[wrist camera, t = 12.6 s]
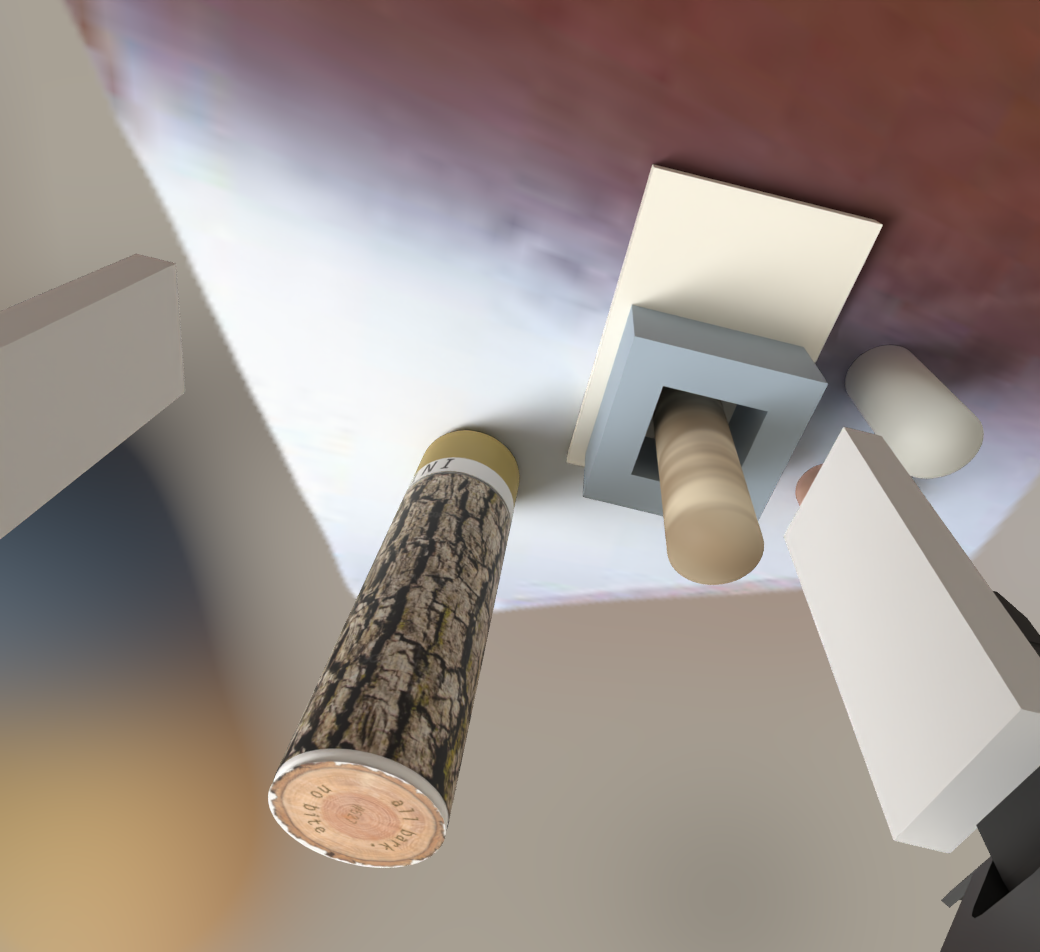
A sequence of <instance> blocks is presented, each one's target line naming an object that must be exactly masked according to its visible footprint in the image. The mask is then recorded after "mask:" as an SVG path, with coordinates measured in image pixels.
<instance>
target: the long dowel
mask: <svg viewBox="0 0 1040 952" xmlns="http://www.w3.org/2000/svg"><path fill="white" fill-rule="evenodd" d="M653 422H654V432H655V441H656V451H657V460H658V470H659V479H660V489H661V498H662V508H663V517H664V527H665V536H666V545H667V554H668V558H669V561H670V563H671V565H672V567H673V568H674V569H675V570H676V571H677V572H678V573H679V574H680V575H682V576H683V577H685V578H686V579H688V580H691V581H693V582H696V583H700V584H707V585H718V584H725V583H730V582H733V581H736V580H738V579H740V578H742V577H744V576H745V575H747V574H748V573H750V572H751V571H752V570H753V569H754V568H755V567H756V566H757V564H758V563H759V561H760V560H761V557H762V555H763V551H764V541H763V537H762V533H761V530H760V527H759V524H758V520H757V517H756V514H755V510H754V507H753V504H752V501H751V497H750V494H749V491H748V487H747V484H746V481H745V478H744V474H743V471H742V468H741V464H740V461H739V458H738V455H737V451H736V448H735V445H734V441H733V438H732V435H731V432H730V428H729V425H728V422H727V418H726V415H725V412H724V409H723V405H722V402H721V400H719V399H715V398H710V397H706V396H702V395H698V394H694V393H690V392H686V391H682V390H678V389H674V388H670V387H666V386H663V388H662V391H661V393H660V396H659V399H658V402H657V404H656V407H655V410H654V413H653Z"/></svg>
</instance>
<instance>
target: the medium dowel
mask: <svg viewBox="0 0 1040 952" xmlns="http://www.w3.org/2000/svg"><path fill="white" fill-rule="evenodd" d="M845 388H846V391H847V394H848V396H849V397H850V399H851V400H852V401H853V403H854V404H855V406H856V407H857V409H858V410H859V411H860V413H861V414H862V416H863V417H864V419H865V420H866V421H867V423H868V424H869V426H870V427H871V429H872V430H873V431H874V433H875V434H876V435H880V436H882V437H883V439H884V440H885V441H886V443H887V444H888V446H889V447H890V448H891V450H892V451H893V453H894V454H895V455H896V457H897V458H898V460H899V461H900V462H901V464H902V465H903V467H904V468H905V469H906V471H907V472H908V474H909V475H911V476H914V477H918V478H926V479H927V478H938V477H942V476H946V475H949V474H951V473H953V472H956V471H957V470H959V469H961V468H962V467H964V466H965V465H966V464H968V463H969V462H970V461H971V460H972V459H973V458H974V457H975V455H976V454H977V452H978V451H979V449H980V447H981V445H982V441H983V435H984V434H983V427H982V424H981V422H980V421H979V419H978V418H977V417H976V416H975V415H974V414H973V413H972V412H971V411H970V410H969V409H968V408H967V407H966V406H965V405H964V404H963V403H962V402H961V401H960V400H959V399H958V398H957V397H956V396H955V395H954V394H953V393H952V392H951V391H950V390H949V389H948V388H947V387H946V386H945V385H944V384H943V383H942V382H941V381H940V380H939V379H938V378H937V377H936V376H935V375H934V374H933V373H932V372H931V371H930V370H929V369H927V368H926V367H925V366H924V365H923V364H922V363H921V362H920V361H919V360H918V359H917V358H916V357H915V356H914V355H913V354H912V353H911V352H910V351H909V350H907V349H905V348H903V347H900V346H896V345H884V346H879V347H875V348H873V349H870V350H868V351H866V352H865V353H863V354H862V355H860V356H859V357H858V358H857V359H856V360H855V361H854V362H853V364H852V365H851V366H850V368H849V370H848V372H847V375H846V379H845Z"/></svg>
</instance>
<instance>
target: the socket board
mask: <svg viewBox="0 0 1040 952" xmlns="http://www.w3.org/2000/svg"><path fill="white" fill-rule="evenodd" d="M882 226H883V225H882V224H881V223H879V222H878V221H876V220H873V219H869V218H865V217H861V216H857V215H853V214H849V213H845V212H841V211H838V210H834V209H830V208H826V207H822V206H818V205H814V204H810V203H806V202H802V201H798V200H794V199H790V198H786V197H782V196H778V195H774V194H770V193H766V192H762V191H758V190H754V189H750V188H746V187H742V186H738V185H734V184H730V183H726V182H722V181H718V180H714V179H710V178H706V177H702V176H698V175H694V174H690V173H686V172H682V171H678V170H674V169H670V168H666V167H662V166H658V165H654V164H652V167H651V171H650V174H649V178H648V181H647V184H646V188H645V191H644V195H643V198H642V201H641V205H640V208H639V212H638V215H637V218H636V222H635V225H634V229H633V232H632V235H631V239H630V242H629V246H628V249H627V253H626V256H625V259H624V263H623V266H622V270H621V273H620V276H619V280H618V283H617V287H616V290H615V293H614V297H613V300H612V304H611V307H610V310H609V314H608V317H607V321H606V324H605V327H604V331H603V334H602V338H601V341H600V344H599V348H598V351H597V355H596V358H595V361H594V365H593V368H592V372H591V375H590V378H589V382H588V385H587V389H586V392H585V395H584V399H583V402H582V406H581V409H580V412H579V416H578V419H577V423H576V426H575V429H574V433H573V436H572V440H571V443H570V446H569V450H568V453H567V463H570V464H574V465H578V466H582V467H585V469H584V486H583V497H586V498H590V499H594V500H598V501H603V502H607V503H611V504H615V505H619V506H623V507H628V508H632V509H636V510H640V511H644V512H648V513H652V514H657V515H661V516H663V508H662V498H661V489H660V479H659V470H658V460H657V451H656V441H655V432H654V422H653V413H654V410H655V407H656V404H657V402H658V399H659V396H660V393H661V391H662V388H663V386H666V387H670V388H674V389H678V390H682V391H686V392H690V393H694V394H698V395H702V396H706V397H710V398H715V399H719V400H721V402H722V405H723V409H724V412H725V415H726V418H727V422H728V425H729V428H730V432H731V435H732V438H733V441H734V445H735V448H736V451H737V455H738V458H739V461H740V464H741V468H742V471H743V474H744V478H745V481H746V484H747V487H748V491H749V494H750V497H751V501H752V504H753V507H754V510H755V514H756V517H757V520H759V518H760V516H761V514H762V512H763V510H764V508H765V506H766V505H767V503H768V501H769V499H770V497H771V495H772V493H773V491H774V489H775V487H776V485H777V483H778V481H779V479H780V477H781V475H782V473H783V471H784V469H785V467H786V465H787V463H788V462H789V460H790V458H791V456H792V454H793V452H794V450H795V448H796V446H797V444H798V442H799V440H800V438H801V436H802V434H803V432H804V430H805V428H806V426H807V424H808V422H809V420H810V419H811V417H812V415H813V413H814V411H815V409H816V407H817V405H818V403H819V401H820V399H821V397H822V395H823V393H824V391H825V389H826V387H827V385H828V383H827V381H826V380H825V378H824V377H823V375H822V374H821V372H820V371H819V369H818V368H817V366H816V365H815V362H816V360H817V358H818V356H819V354H820V352H821V350H822V348H823V346H824V344H825V342H826V340H827V338H828V336H829V334H830V332H831V330H832V328H833V326H834V324H835V322H836V320H837V318H838V316H839V313H840V311H841V309H842V307H843V305H844V303H845V301H846V299H847V297H848V295H849V293H850V291H851V289H852V287H853V285H854V283H855V281H856V279H857V277H858V275H859V273H860V271H861V269H862V267H863V265H864V263H865V260H866V258H867V256H868V254H869V252H870V250H871V248H872V246H873V244H874V242H875V240H876V238H877V236H878V234H879V232H880V230H881V228H882Z"/></svg>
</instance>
